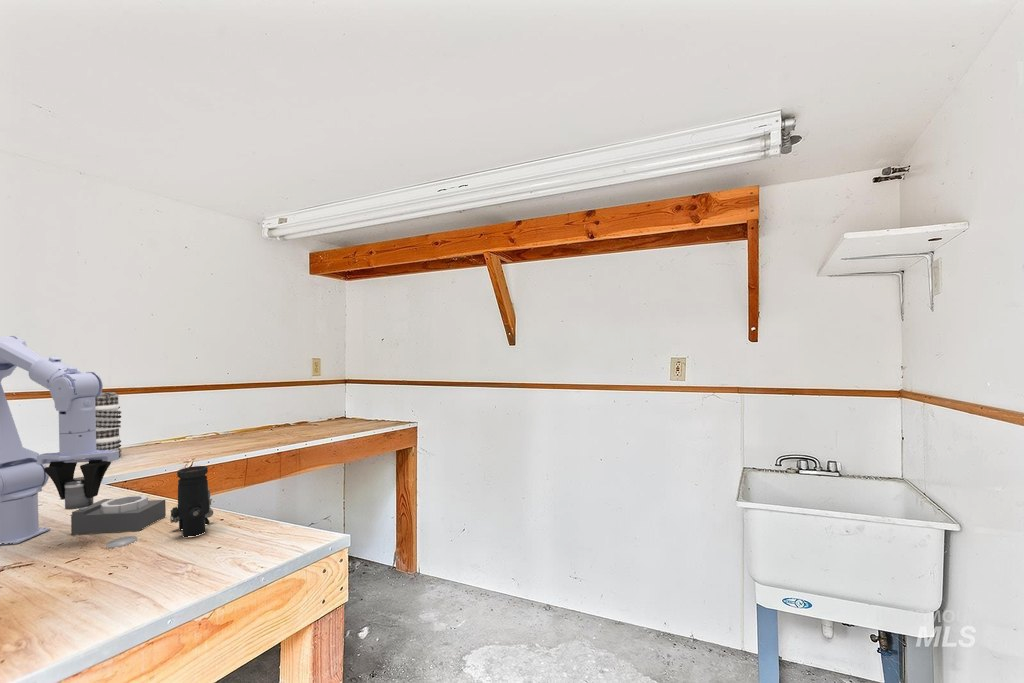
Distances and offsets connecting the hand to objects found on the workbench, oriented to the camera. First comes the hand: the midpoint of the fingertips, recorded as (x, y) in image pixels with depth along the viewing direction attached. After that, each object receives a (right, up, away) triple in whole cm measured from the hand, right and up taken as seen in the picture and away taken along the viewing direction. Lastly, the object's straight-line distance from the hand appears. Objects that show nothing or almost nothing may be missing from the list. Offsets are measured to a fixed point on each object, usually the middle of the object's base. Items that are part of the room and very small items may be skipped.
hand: (79, 497), depth 101 cm
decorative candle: (-59, -12, +77) cm, 98 cm away
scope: (+21, -9, +4) cm, 23 cm away
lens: (0, -2, 0) cm, 2 cm away
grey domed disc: (+9, -10, -1) cm, 13 cm away
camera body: (+2, -9, +10) cm, 14 cm away
